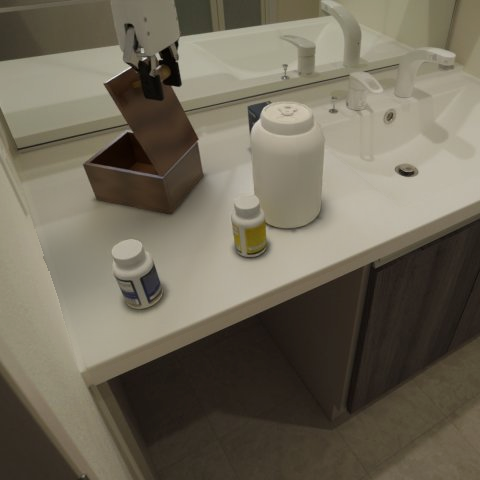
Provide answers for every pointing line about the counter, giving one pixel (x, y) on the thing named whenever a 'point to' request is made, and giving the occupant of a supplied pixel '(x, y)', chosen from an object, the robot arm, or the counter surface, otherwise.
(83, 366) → the counter surface
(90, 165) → the chest
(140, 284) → the pill bottle
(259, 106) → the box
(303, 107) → the white canister
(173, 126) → the lid
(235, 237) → the supplement bottle
